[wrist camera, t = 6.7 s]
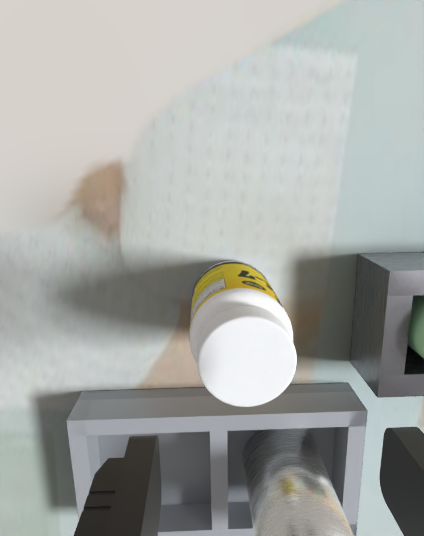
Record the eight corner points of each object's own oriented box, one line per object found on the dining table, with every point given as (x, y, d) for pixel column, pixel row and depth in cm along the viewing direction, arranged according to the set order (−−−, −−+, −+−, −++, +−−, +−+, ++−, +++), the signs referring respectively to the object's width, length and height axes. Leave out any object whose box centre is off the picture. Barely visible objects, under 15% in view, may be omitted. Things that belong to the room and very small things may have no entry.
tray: (348, 382, 25) (367, 410, 22) (339, 497, 28) (355, 537, 25) (81, 391, 25) (66, 420, 22) (94, 507, 27) (82, 548, 24)
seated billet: (318, 422, 25) (372, 537, 17) (315, 485, 26) (363, 620, 18) (242, 424, 25) (262, 542, 17) (242, 488, 26) (260, 624, 18)
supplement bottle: (286, 298, 24) (332, 366, 16) (229, 348, 25) (244, 438, 16) (233, 241, 23) (252, 283, 15) (175, 295, 24) (162, 363, 15)
